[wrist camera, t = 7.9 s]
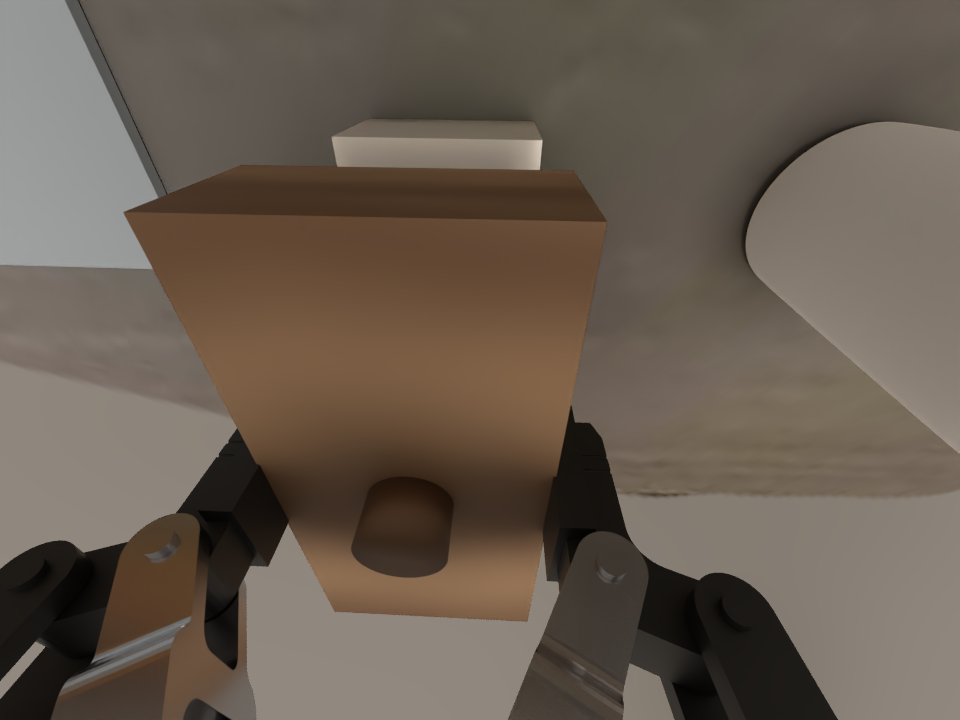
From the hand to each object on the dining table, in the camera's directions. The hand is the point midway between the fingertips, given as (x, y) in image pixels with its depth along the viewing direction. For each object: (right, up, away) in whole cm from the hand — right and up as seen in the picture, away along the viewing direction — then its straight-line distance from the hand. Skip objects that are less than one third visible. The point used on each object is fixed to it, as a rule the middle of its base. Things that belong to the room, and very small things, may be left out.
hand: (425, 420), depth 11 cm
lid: (0, 0, 0) cm, 0 cm away
